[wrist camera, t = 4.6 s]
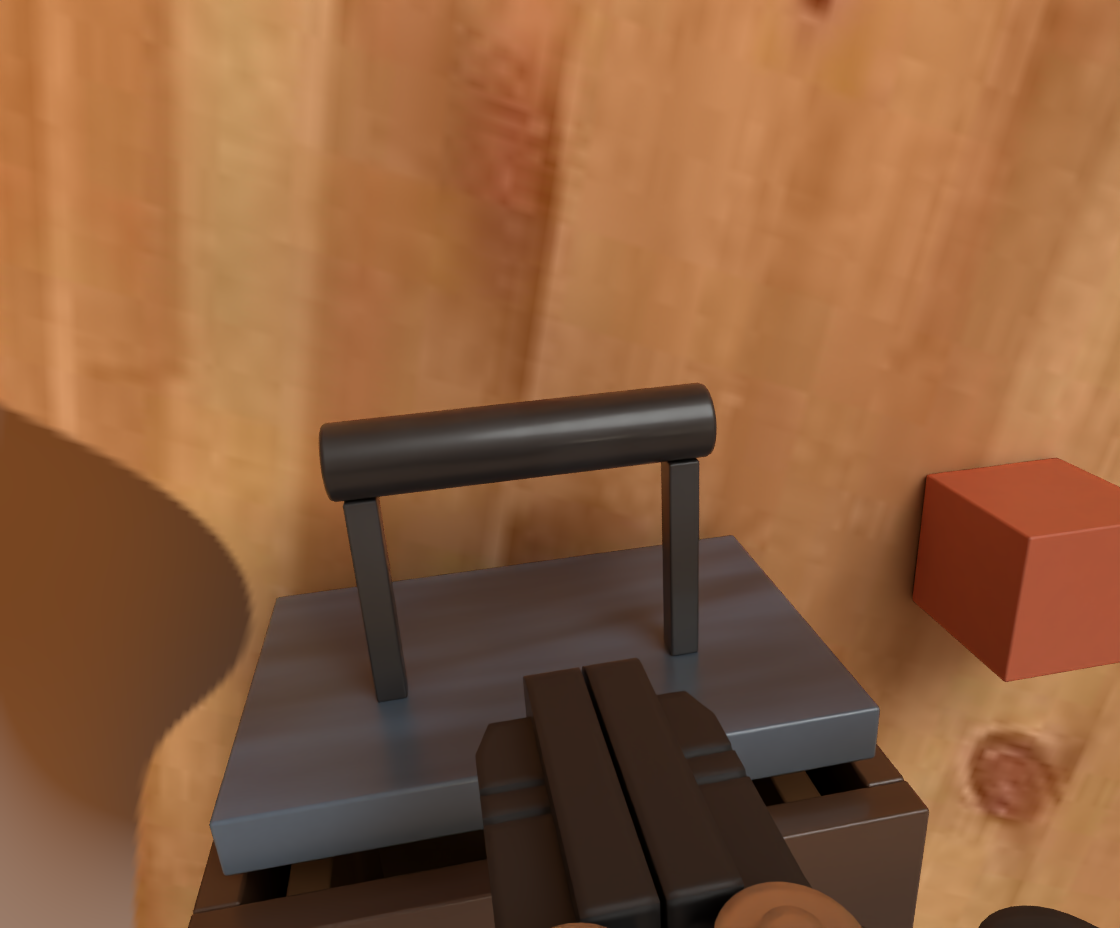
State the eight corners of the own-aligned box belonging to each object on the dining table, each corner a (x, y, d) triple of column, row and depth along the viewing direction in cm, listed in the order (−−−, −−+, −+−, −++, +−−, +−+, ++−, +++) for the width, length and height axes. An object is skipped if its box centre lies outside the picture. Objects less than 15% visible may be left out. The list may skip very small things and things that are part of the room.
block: (925, 473, 23) (1029, 537, 19) (1057, 456, 24) (1183, 515, 20) (911, 600, 25) (1004, 683, 21) (1034, 581, 25) (1147, 658, 21)
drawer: (227, 373, 18) (115, 509, 11) (737, 323, 20) (913, 413, 13) (363, 996, 25) (346, 1306, 18) (724, 921, 27) (831, 1180, 20)
